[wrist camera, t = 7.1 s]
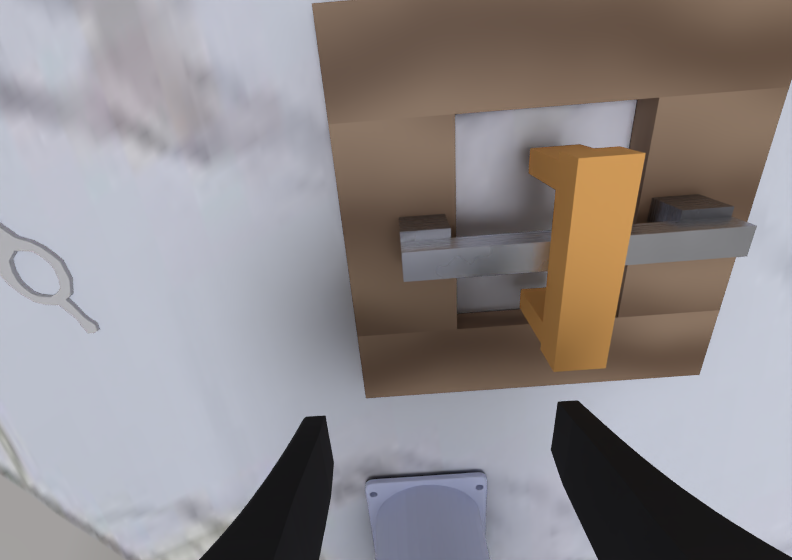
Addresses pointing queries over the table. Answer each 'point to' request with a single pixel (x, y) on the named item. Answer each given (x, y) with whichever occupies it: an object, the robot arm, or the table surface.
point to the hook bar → (529, 251)
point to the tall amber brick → (583, 251)
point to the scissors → (6, 243)
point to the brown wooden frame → (529, 88)
